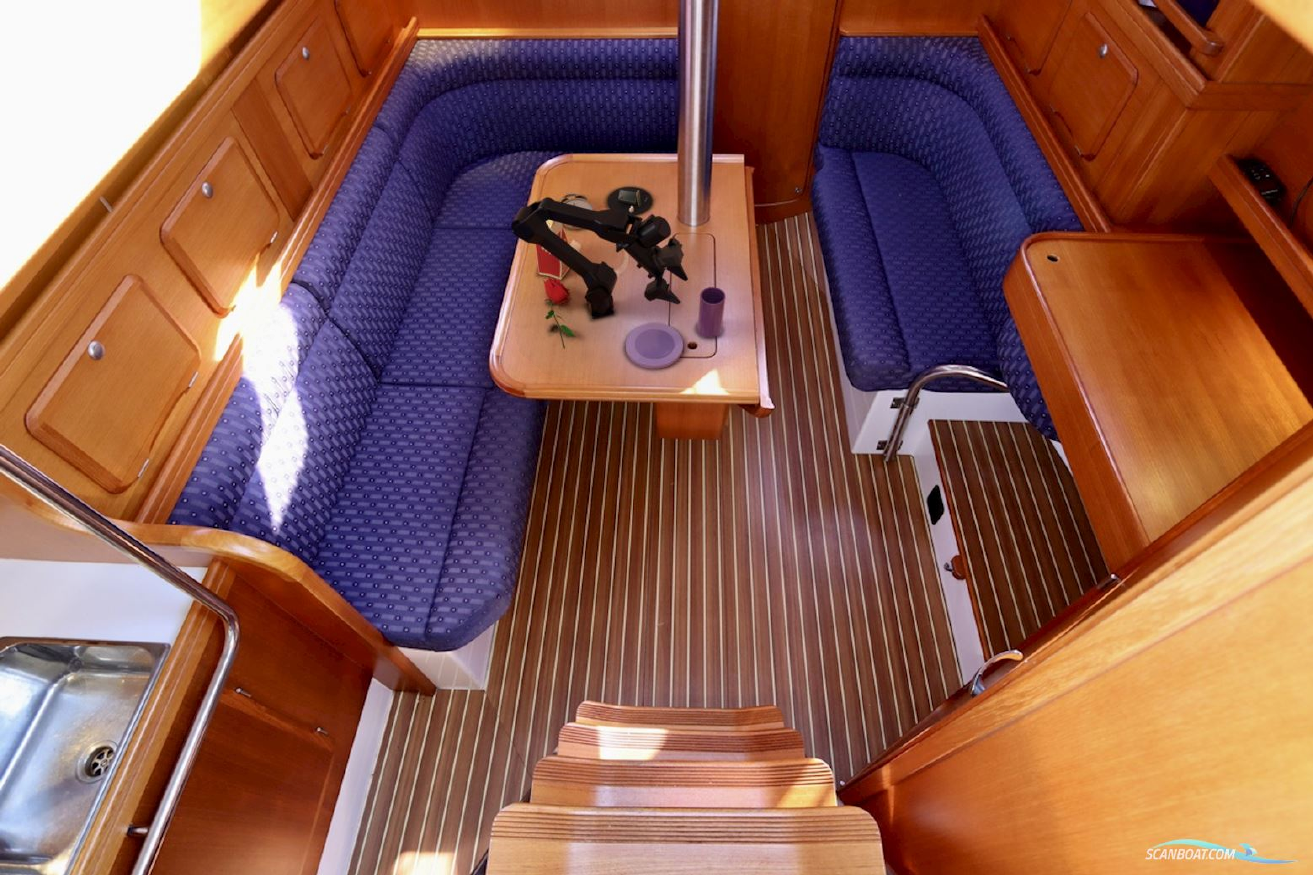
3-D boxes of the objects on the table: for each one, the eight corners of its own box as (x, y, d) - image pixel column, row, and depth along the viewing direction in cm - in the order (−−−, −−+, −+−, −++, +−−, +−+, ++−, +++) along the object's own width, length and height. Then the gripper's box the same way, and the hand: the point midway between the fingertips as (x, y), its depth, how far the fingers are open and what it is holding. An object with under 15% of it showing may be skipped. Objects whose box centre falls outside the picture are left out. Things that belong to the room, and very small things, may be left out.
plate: (636, 375, 176) (636, 371, 174) (618, 334, 184) (618, 330, 183) (691, 360, 179) (691, 356, 178) (671, 320, 187) (671, 316, 186)
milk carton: (574, 261, 201) (567, 206, 184) (562, 280, 196) (553, 225, 180) (547, 254, 203) (537, 199, 186) (534, 273, 198) (524, 218, 181)
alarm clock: (564, 225, 206) (552, 191, 211) (565, 236, 210) (553, 202, 216) (598, 218, 208) (585, 184, 213) (598, 229, 212) (585, 195, 218)
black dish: (601, 210, 215) (600, 196, 210) (615, 184, 223) (615, 170, 218) (644, 219, 212) (644, 205, 208) (657, 192, 220) (657, 178, 216)
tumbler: (693, 324, 186) (695, 291, 175) (714, 317, 188) (718, 284, 177) (704, 341, 183) (707, 307, 172) (725, 333, 184) (729, 300, 173)
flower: (572, 328, 170) (553, 260, 188) (543, 346, 172) (527, 278, 190) (590, 347, 177) (571, 280, 195) (562, 364, 179) (546, 297, 197)
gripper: (656, 263, 157) (697, 303, 165) (673, 215, 168) (712, 256, 175) (626, 282, 165) (667, 320, 173) (644, 235, 175) (682, 273, 183)
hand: (683, 291), depth 176 cm, fingers open, 9 cm apart
